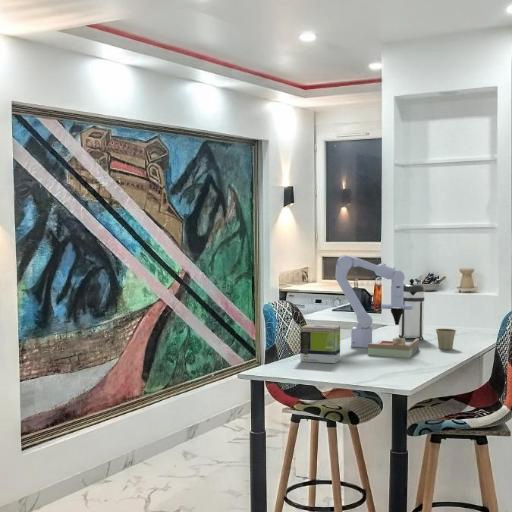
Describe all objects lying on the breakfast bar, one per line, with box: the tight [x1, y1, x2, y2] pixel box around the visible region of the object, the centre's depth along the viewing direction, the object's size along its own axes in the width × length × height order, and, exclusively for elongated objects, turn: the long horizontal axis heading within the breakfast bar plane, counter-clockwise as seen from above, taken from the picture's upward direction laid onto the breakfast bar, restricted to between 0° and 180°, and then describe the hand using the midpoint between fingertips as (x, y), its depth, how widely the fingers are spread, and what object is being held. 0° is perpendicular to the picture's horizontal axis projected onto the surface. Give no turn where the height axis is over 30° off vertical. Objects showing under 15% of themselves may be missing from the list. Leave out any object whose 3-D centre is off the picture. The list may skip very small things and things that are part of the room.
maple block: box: [392, 337, 406, 346], centre depth 345 cm, size 4×4×4 cm
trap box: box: [367, 338, 420, 359], centre depth 355 cm, size 18×24×5 cm
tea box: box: [299, 324, 341, 364], centre depth 330 cm, size 15×10×15 cm, turn 71°
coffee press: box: [398, 278, 426, 341], centre depth 396 cm, size 17×16×30 cm
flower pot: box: [435, 328, 457, 350], centre depth 366 cm, size 9×9×9 cm
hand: (397, 324), depth 369 cm, fingers closed
